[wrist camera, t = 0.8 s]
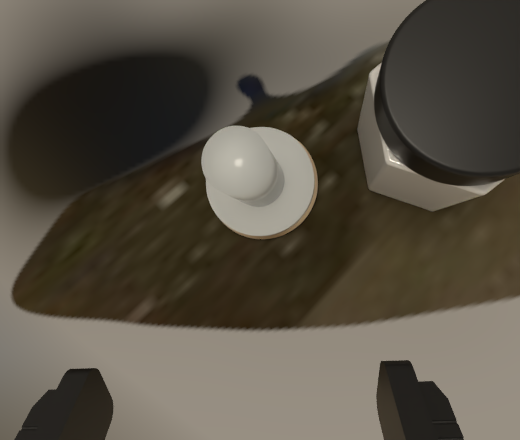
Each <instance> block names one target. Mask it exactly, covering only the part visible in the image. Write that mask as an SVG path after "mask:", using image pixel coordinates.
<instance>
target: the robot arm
mask: <svg viewBox="0 0 520 440" xmlns="http://www.w3.org/2000/svg"><path fill="white" fill-rule="evenodd" d="M377 409H378V415H379V420H380V424H381V428H382V433H383V437H384V440H464V439H463V435H462V433H461V430H460V428H459V425H458V424H457V422H456V418H455V415H454V413H453V411H452V408H451V405H450V403H449V400H448V398H447V397H446V396H445V395H444V394H443V393H442V392H441V390H440V389H439V388H438V387H437V386H436V385H435V383H434V382H433V381H425V382H418V380H417V377H416V374H415V371H414V369H413V366H412V364H411V362H410V361H408V360H406V361H381V363H380V370H379V378H378V388H377ZM112 415H113V400H112V397H111V395H110V393H109V391H108V389H107V387H106V385H105V382H104V380H103V378H102V376H101V374H100V372H99V370H98V369H96V368H91V369H89V368H88V369H70V370H68V371H67V372H66V373H65V375H64V376H63V378H62V380H61V382H60V384H59V386H58V388H57V390H48V391H47V392H46V393H45V394H44V395H43V396H42V397H41V399H40V400H39V401H38V402H37V403H36V404H35V405H34V406H33V407H32V409H31V411H30V412H29V414H28V416H27V418H26V420H25V422H24V423H23V425H22V430H21V431H19V433H18V434H17V436H16V438H15V440H105V437H106V434H107V431H108V429H109V426H110V423H111V420H112Z"/></svg>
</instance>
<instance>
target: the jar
mask: <svg viewBox="0 0 520 440" xmlns="http://www.w3.org/2000/svg"><path fill="white" fill-rule="evenodd" d="M357 130H358V136H359V141H360V146H361V152H362V157H363V162H364V168H365V173H366V179H367V184H368V188H369V190H371V191H373V192H376V193H379V194H382V195H385V196H388V197H391V198H394V199H397V200H400V201H403V202H406V203H409V204H412V205H415V206H418V207H421V208H423V209H426V210H429V211H437V210H440V209H443V208H446V207H449V206H452V205H455V204H458V203H461V202H464V201H467V200H471V199H474V198H477V197H480V196H483V195H486V194H487V193H488V192H490V191H491V190H492V189H493V188H495V187H496V186H497V185H498V184H500V183H501V182H502V181H503V180H505V179H506V178H508V177H511V176H514V175H516V174H519V173H520V0H426V1H424V2H423V3H422V4H420V5H419V6H418V7H417V8H416V9H414V10H413V11H412V12H411V13H410V14H409V15H408V16H407V17H406V18H405V20H404V21H403V22H402V23H401V24H400V26H399V27H398V29H397V30H396V31H395V33H394V35H393V36H392V38H391V40H390V42H389V44H388V46H387V48H386V51H385V54H384V57H383V60H382V63H380V64H379V65H378V66H377V67H376V68H375V69H373V70H372V71H371V72H370V74H369V78H368V82H367V87H366V91H365V96H364V100H363V105H362V109H361V114H360V118H359V123H358V127H357Z"/></svg>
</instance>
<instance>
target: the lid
mask: <svg viewBox="0 0 520 440" xmlns="http://www.w3.org/2000/svg"><path fill="white" fill-rule="evenodd" d="M202 170H203V173H204V175H205V177H206V191H207V196H208V199H209V202H210V205H211V207H212V209H213V210H214V212H215V214H216V215H217V216H218V217H219V219H220V220H221V221H222V222H223V223H225V224H226V225H227V226H228V227H230V228H231V229H233V230H235V231H237V232H240V233H243V234H246V235H251V236H271V235H275V234H278V233H281V232H283V231H285V230H287V229H289V228H290V227H292V226H293V225H295V224H296V223H297V222H298V221H299V220H300V219H301V218H302V217H303V215H304V214H305V213H306V211H307V210H308V208H309V206H310V204H311V201H312V198H313V194H314V188H315V178H314V171H313V167H312V163H311V161H310V158H309V156H308V154H307V152H306V151H305V149H304V148H303V147H302V145H301V144H300V143H299V142H298V141H297V140H296V139H294V138H293V137H292V136H290V135H289V134H287V133H285V132H283V131H280V130H278V129H274V128H269V127H255V128H247V127H244V126H230V127H226V128H223V129H221V130H219V131H218V132H216V133H215V134H214V135H213V136H212V137H211V138H210V139H209V140H208V142H207V143H206V145H205V147H204V150H203V153H202Z"/></svg>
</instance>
